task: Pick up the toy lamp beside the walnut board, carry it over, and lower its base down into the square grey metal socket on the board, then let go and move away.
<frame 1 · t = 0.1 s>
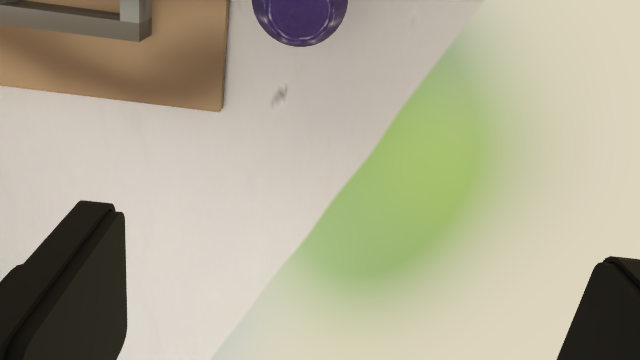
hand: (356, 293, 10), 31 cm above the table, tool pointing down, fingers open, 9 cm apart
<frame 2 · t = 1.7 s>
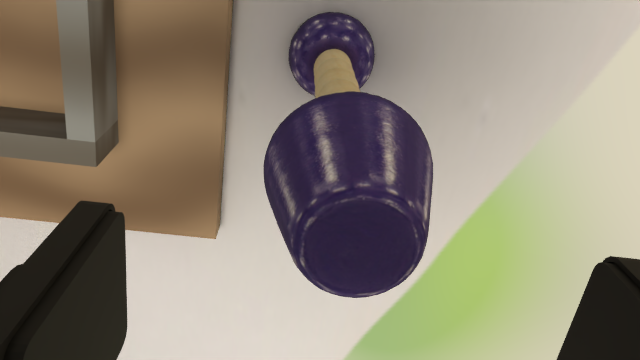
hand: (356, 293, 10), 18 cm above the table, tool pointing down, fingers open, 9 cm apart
socket board: (20, 23, 25), on the table
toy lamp: (330, 62, 26), on the table
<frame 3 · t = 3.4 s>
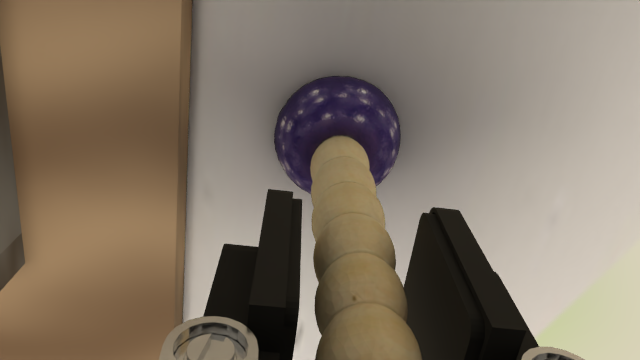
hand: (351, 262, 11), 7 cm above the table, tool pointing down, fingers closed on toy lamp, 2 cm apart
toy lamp: (335, 144, 18), on the table, touching gripper
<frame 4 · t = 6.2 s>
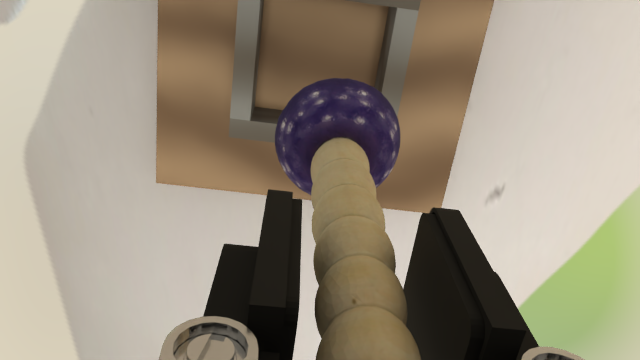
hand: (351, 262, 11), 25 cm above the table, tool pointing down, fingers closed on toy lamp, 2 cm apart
socket board: (319, 52, 34), on the table
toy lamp: (335, 145, 18), point 18 cm above the table, touching gripper
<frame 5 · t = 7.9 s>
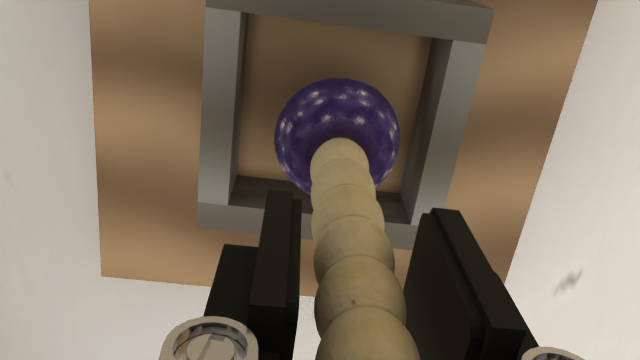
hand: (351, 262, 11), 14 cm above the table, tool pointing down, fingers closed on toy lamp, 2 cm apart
socket board: (329, 96, 24), on the table
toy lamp: (335, 145, 18), point 6 cm above the table, touching gripper
when the fingers open (9 cm above the table, at t = 9.2 s): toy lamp stays where it is, resting on socket board.
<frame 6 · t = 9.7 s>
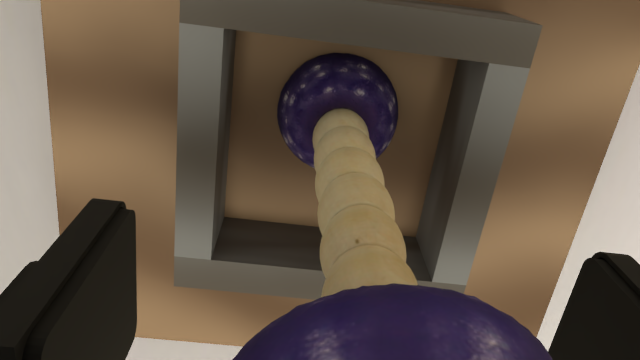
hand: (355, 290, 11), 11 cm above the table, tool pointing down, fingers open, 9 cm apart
socket board: (333, 123, 20), on the table
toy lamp: (336, 120, 19), point 1 cm above the table, touching socket board
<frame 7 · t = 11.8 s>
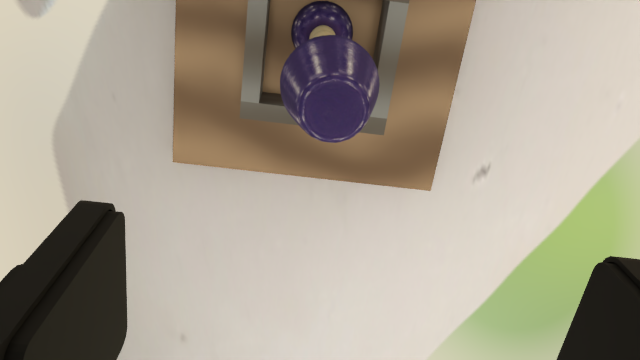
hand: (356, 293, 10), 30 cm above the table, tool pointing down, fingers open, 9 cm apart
socket board: (320, 42, 38), on the table
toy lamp: (321, 37, 37), point 1 cm above the table, touching socket board
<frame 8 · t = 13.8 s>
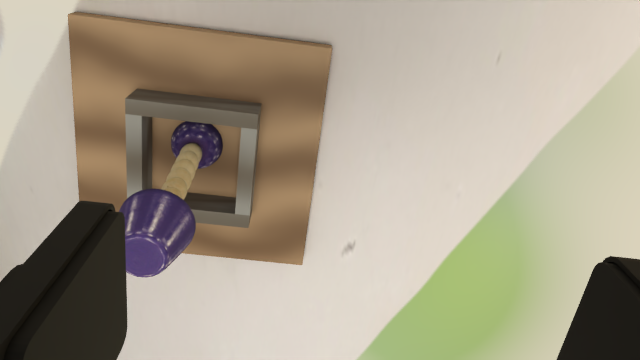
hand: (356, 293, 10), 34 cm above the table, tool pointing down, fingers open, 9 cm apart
socket board: (200, 146, 46), on the table
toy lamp: (197, 146, 44), point 1 cm above the table, touching socket board
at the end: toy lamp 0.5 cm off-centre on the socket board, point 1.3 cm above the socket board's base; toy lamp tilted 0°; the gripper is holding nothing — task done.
